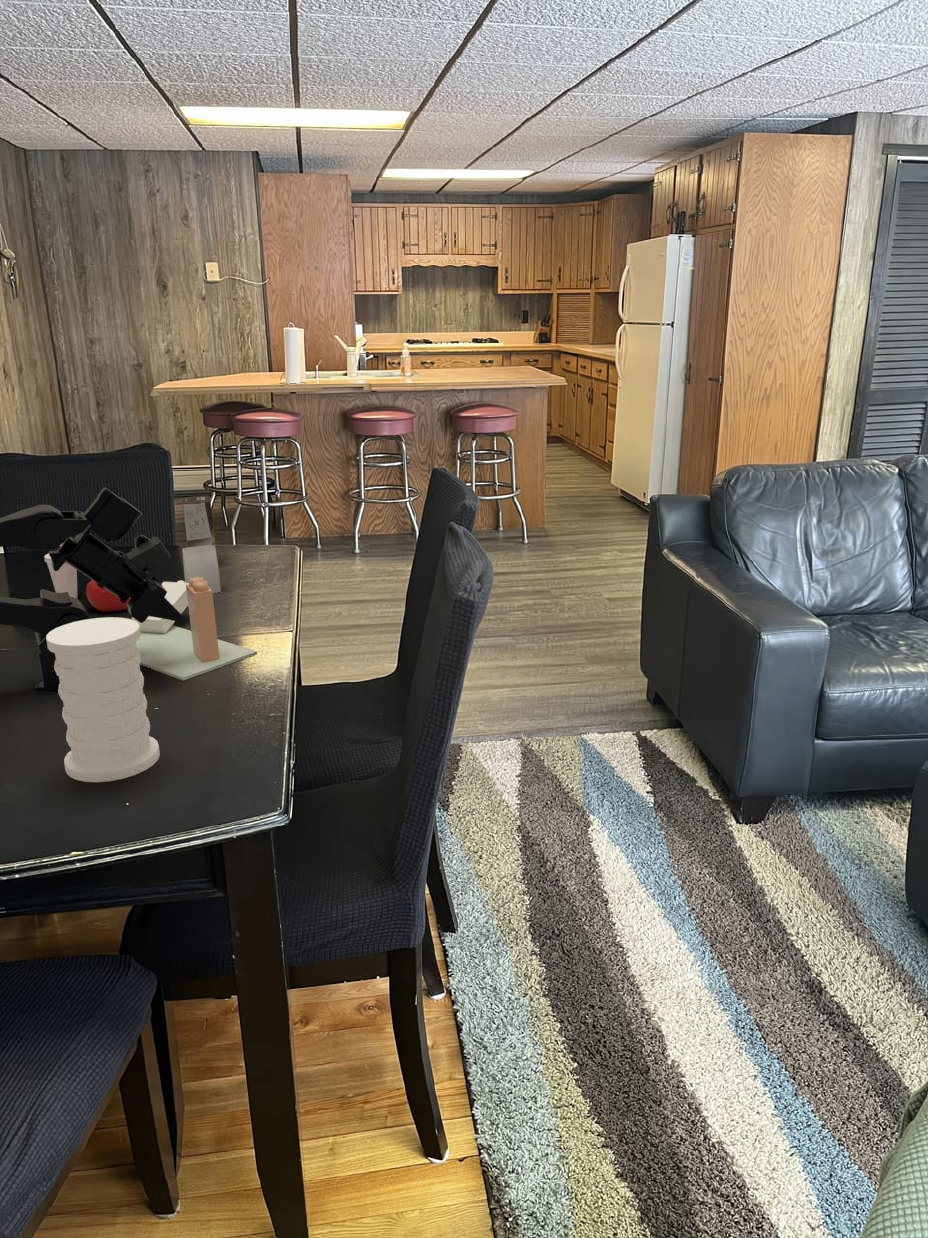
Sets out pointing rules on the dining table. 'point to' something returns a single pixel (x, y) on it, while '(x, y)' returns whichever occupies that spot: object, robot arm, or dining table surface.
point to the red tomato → (103, 598)
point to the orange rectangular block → (202, 619)
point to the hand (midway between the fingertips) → (181, 618)
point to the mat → (183, 653)
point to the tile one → (176, 598)
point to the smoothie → (63, 577)
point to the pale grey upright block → (202, 565)
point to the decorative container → (103, 699)
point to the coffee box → (198, 521)
